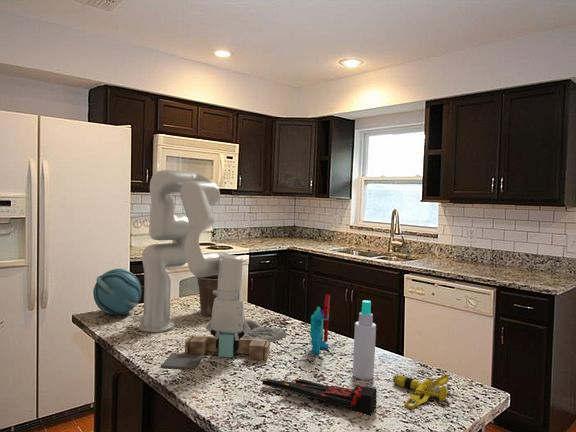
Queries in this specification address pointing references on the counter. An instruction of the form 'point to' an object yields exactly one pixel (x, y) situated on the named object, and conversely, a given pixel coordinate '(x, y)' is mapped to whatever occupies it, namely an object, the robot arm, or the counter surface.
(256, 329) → the wall plaque
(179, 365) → the pad
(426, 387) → the sprinkler
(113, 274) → the toy
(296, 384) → the toy
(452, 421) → the counter surface
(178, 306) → the counter surface
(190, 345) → the rack
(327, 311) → the toy
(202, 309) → the object
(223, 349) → the block
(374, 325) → the spray bottle
